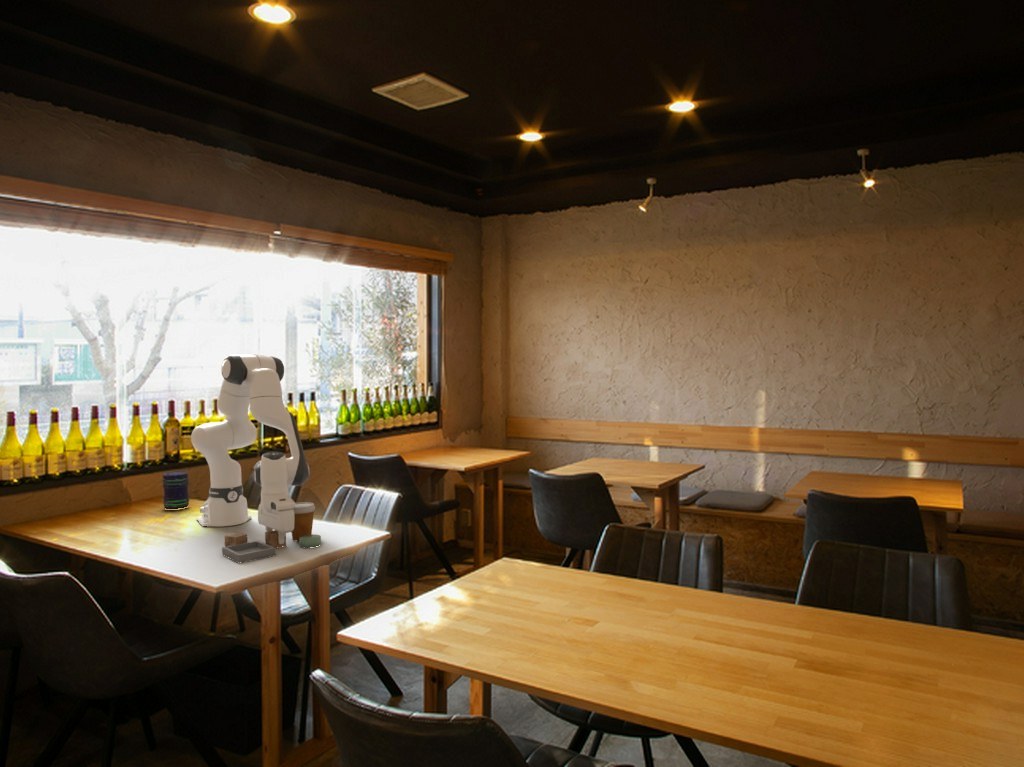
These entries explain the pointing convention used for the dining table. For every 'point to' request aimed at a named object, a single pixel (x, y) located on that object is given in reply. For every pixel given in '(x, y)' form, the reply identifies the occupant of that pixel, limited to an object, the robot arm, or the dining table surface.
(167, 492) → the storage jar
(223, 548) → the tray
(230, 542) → the walnut block
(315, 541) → the sponge
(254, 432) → the robot arm
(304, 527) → the disposable coffee cup
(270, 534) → the walnut block
